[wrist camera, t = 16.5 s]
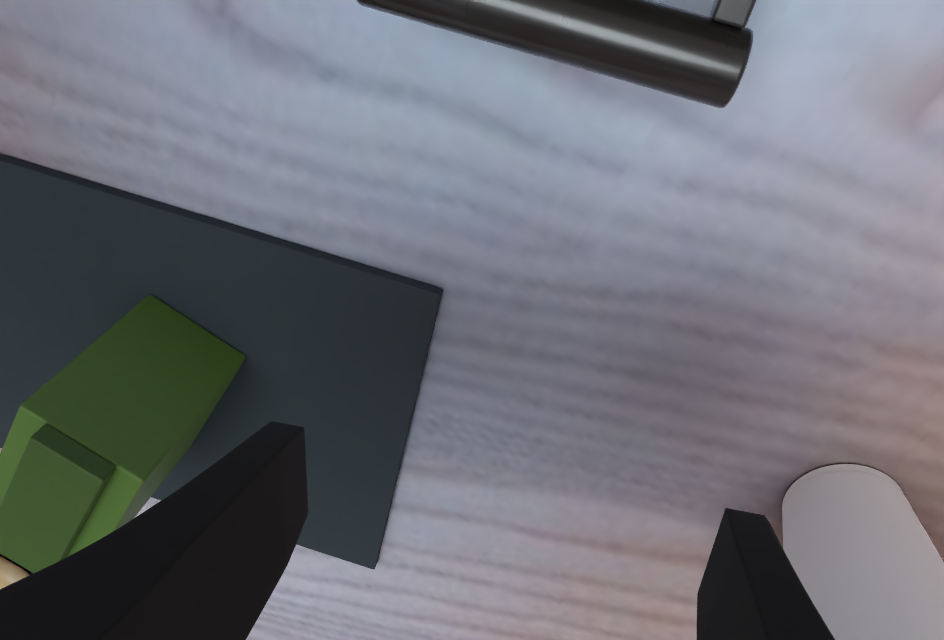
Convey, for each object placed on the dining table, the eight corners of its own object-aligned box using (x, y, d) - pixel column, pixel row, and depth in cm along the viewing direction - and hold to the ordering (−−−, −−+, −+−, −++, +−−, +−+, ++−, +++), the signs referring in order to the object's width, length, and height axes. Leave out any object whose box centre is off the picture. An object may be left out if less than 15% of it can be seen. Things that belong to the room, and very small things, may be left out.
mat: (377, 561, 29) (374, 570, 28) (-24, 431, 30) (-32, 438, 29) (443, 288, 22) (440, 294, 22) (-71, 131, 23) (-82, 135, 23)
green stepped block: (190, 447, 27) (71, 596, 22) (101, 391, 27) (-43, 529, 21) (247, 355, 25) (130, 498, 19) (150, 292, 24) (1, 420, 19)
